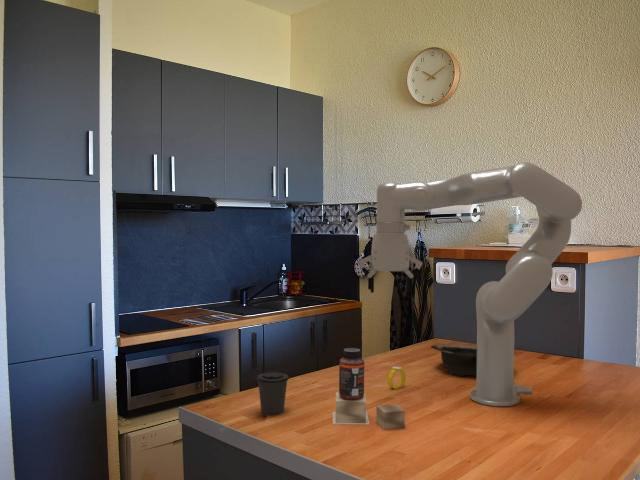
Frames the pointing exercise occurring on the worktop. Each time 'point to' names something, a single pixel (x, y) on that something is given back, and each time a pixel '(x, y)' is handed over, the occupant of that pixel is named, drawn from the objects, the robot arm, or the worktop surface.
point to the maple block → (350, 410)
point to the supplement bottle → (351, 375)
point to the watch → (392, 376)
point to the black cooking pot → (459, 359)
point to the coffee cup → (272, 392)
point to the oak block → (390, 416)
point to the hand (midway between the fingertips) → (389, 292)
